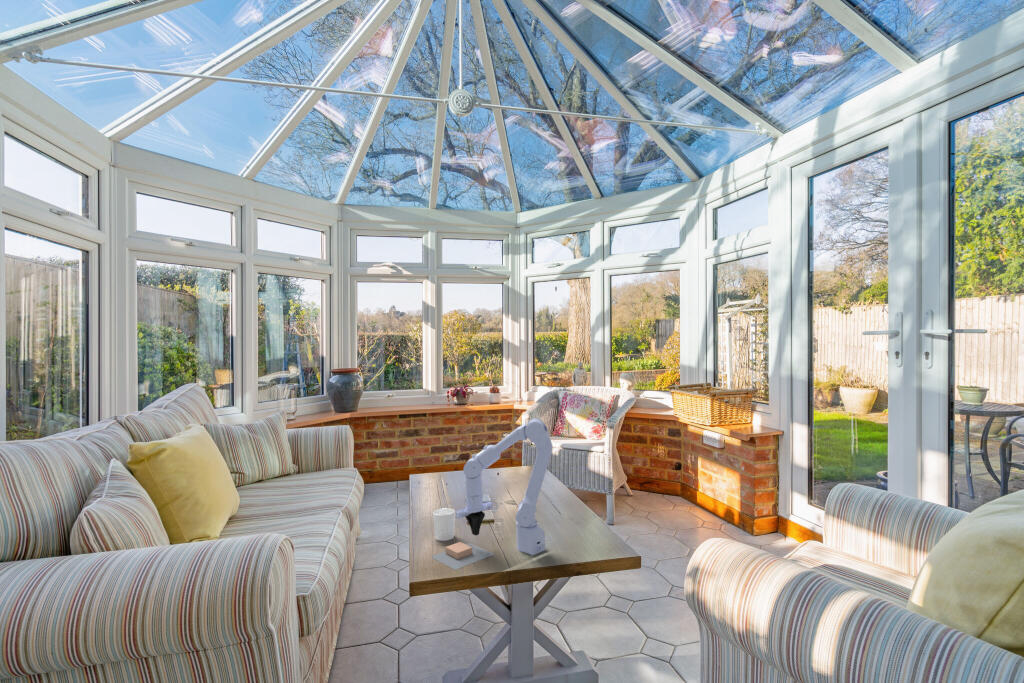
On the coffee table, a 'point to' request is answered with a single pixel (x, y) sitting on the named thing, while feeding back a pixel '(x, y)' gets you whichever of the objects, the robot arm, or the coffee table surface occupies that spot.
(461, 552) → the block
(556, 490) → the coffee table surface
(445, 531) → the white cup
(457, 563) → the felt mat
